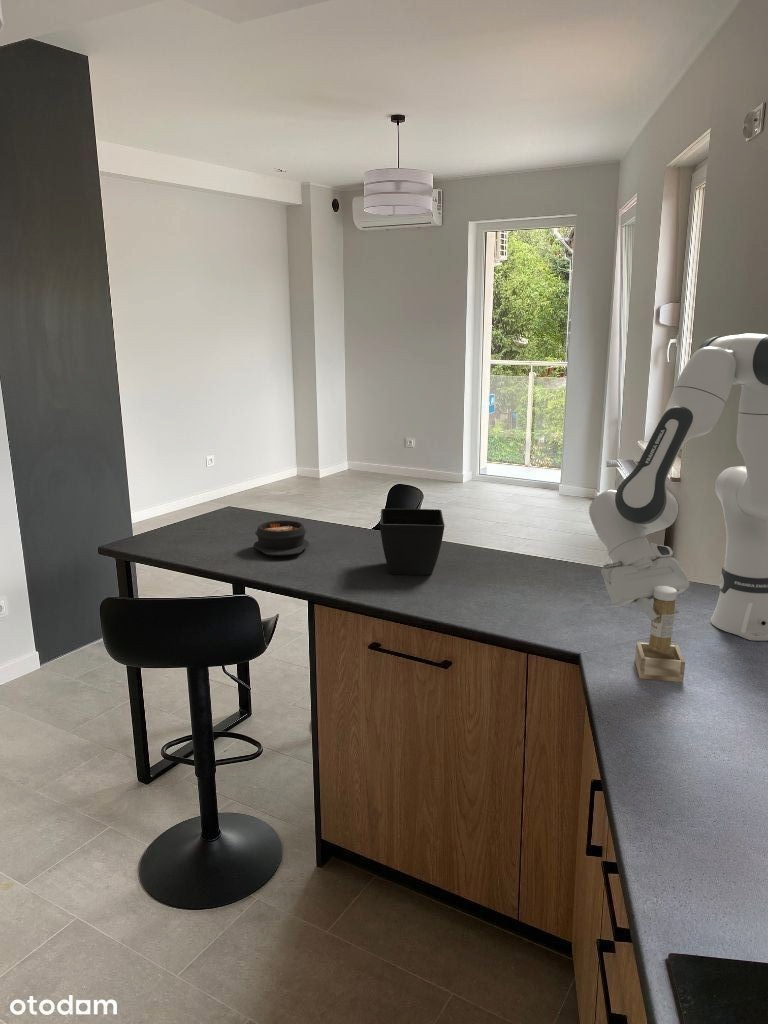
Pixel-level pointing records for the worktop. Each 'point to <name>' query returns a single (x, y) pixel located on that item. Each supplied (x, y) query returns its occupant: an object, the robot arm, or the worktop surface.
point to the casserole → (281, 538)
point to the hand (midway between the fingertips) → (665, 616)
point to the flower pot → (411, 539)
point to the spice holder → (659, 663)
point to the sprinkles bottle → (662, 618)
